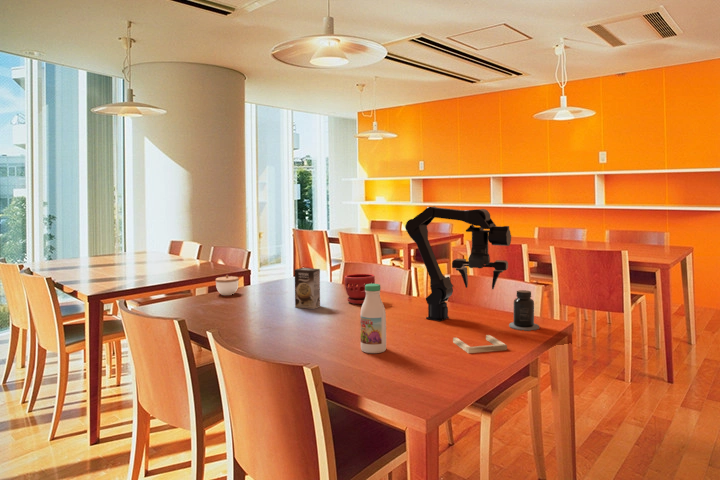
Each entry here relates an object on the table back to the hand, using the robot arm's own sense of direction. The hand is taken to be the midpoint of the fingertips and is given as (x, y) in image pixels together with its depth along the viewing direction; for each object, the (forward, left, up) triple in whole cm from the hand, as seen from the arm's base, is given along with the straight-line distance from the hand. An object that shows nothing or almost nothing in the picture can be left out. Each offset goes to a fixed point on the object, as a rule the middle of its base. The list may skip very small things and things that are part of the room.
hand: (479, 288), depth 175 cm
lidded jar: (-121, -21, -13) cm, 124 cm away
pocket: (+11, -23, -13) cm, 29 cm away
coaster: (+14, +6, -13) cm, 20 cm away
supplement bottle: (+14, +6, -13) cm, 20 cm away
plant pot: (-58, +3, -13) cm, 60 cm away
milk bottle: (-12, -46, -13) cm, 49 cm away
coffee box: (-70, -17, -13) cm, 73 cm away
